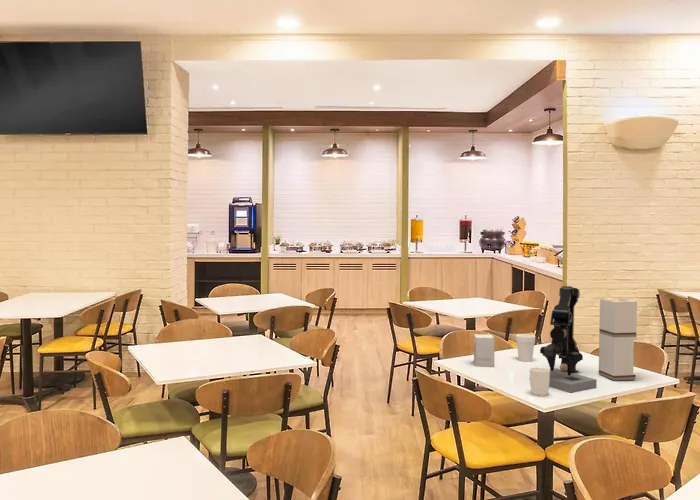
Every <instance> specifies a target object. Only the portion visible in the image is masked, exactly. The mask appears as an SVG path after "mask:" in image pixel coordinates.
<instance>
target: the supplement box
mask: <svg viewBox="0 0 700 500" xmlns="http://www.w3.org/2000/svg"><path fill="white" fill-rule="evenodd" d="M473 364H474V366H475V367H476V368H495V337H494V335H492V334H480V333H479V334H477V333H476V334H475V333H474V334H473Z"/></svg>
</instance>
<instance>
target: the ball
mask: <svg viewBox="0 0 700 500" xmlns="http://www.w3.org/2000/svg"><path fill="white" fill-rule="evenodd" d="M559 369H560V370H561V371H564V372H565V371H567V370H568V366H567V365H566V364H561V363H560V365H559Z"/></svg>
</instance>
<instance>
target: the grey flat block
mask: <svg viewBox="0 0 700 500" xmlns="http://www.w3.org/2000/svg"><path fill="white" fill-rule="evenodd" d="M548 369H549V370H550V381H549V388H553V389H557V390H559V391H563V392H566V393H570V394H572V393H575V392H580V391H586V390H587V391H588V390H591V389H597V386H598V385H597V383H598V382H597V379H596V378H592V377H589V376H585V375H582V374H577V373H571V375H570V376H568V372H567V371H565V372H564V371H561V370H560V368H555V367H554V370H553V371H551V369H550V368H548Z"/></svg>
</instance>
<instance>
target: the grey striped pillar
mask: <svg viewBox="0 0 700 500" xmlns="http://www.w3.org/2000/svg"><path fill="white" fill-rule="evenodd" d="M637 320H638V300H633V299H632V300H631V299H627V298H622V297H621V298H620V297H619V299H618V300H610V299H605V298H599V326H598V327H599V330H598V333H599V334H598V375H600V376H602V377H605V378H607V379H609V380H612V381H631V380H633V381H634V380H636V378H637V377H636V374H634V363H635V362H634V358H635V357H634V356H635V355H634V354H635V353H634V352H635V351H634V350H635V348H634V347H635V341H637V328H638V327H637V325H638V324H637V323H638V322H637Z"/></svg>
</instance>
